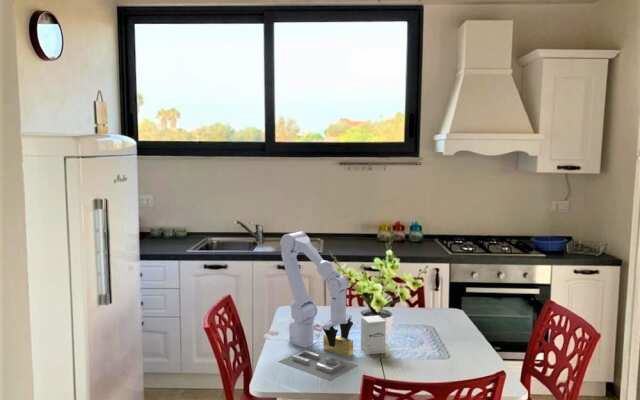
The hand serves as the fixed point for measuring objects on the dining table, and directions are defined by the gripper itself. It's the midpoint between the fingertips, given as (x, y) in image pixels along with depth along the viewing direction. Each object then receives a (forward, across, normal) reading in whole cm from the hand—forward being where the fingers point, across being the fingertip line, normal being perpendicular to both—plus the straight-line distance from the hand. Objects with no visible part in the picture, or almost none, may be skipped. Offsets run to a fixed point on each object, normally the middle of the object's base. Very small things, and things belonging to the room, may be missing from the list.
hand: (338, 343), depth 193 cm
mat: (+4, -13, -1) cm, 14 cm away
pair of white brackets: (+3, -13, -1) cm, 13 cm away
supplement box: (+4, +10, -9) cm, 14 cm away
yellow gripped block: (+4, 0, 0) cm, 4 cm away
